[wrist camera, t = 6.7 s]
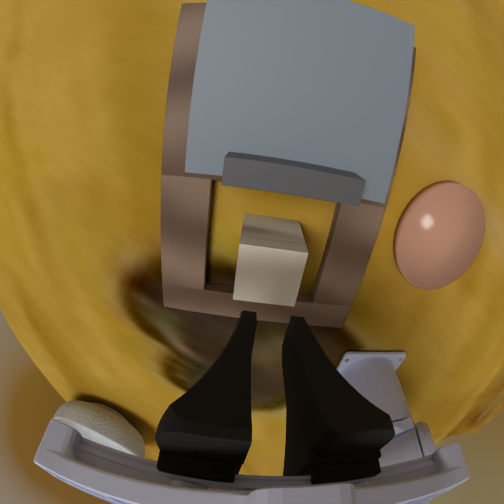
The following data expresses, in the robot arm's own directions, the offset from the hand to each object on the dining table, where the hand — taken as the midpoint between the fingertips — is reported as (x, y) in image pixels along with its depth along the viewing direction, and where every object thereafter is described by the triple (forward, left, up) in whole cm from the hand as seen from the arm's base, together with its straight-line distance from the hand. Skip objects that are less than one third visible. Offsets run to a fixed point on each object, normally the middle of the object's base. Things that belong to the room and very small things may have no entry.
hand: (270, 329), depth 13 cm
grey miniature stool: (+11, 0, -8) cm, 14 cm away
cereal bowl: (-37, +22, -10) cm, 44 cm away
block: (0, 0, -10) cm, 10 cm away
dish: (+3, -15, -9) cm, 18 cm away
